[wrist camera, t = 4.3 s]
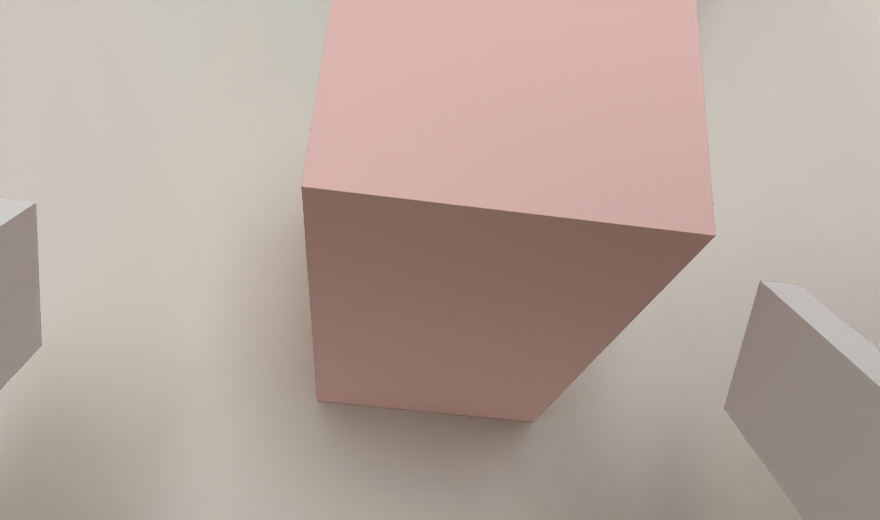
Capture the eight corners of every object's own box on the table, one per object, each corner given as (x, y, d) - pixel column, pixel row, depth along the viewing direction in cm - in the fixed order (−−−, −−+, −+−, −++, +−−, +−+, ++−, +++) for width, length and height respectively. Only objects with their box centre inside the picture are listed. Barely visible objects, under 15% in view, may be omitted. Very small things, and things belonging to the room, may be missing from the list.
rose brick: (536, 230, 25) (690, -69, 14) (532, 422, 23) (715, 235, 12) (343, 208, 25) (350, -120, 14) (317, 401, 22) (301, 186, 11)
